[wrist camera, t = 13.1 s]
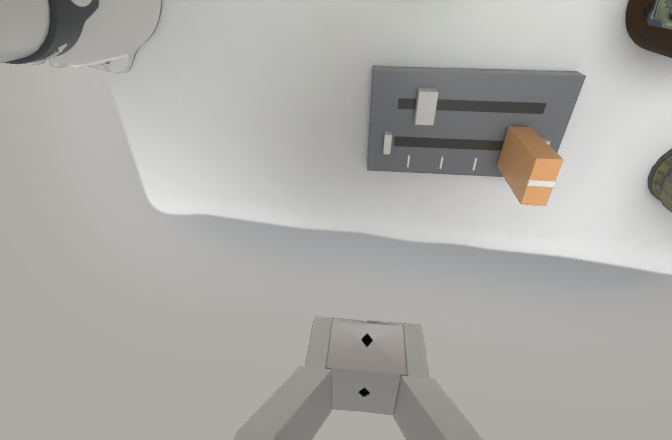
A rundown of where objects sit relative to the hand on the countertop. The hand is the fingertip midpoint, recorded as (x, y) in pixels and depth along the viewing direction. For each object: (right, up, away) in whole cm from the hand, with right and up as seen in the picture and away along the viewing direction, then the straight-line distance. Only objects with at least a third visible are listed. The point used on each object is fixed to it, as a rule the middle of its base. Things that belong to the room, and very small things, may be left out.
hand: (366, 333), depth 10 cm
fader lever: (+20, +12, +32) cm, 39 cm away
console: (+14, +15, +33) cm, 39 cm away
